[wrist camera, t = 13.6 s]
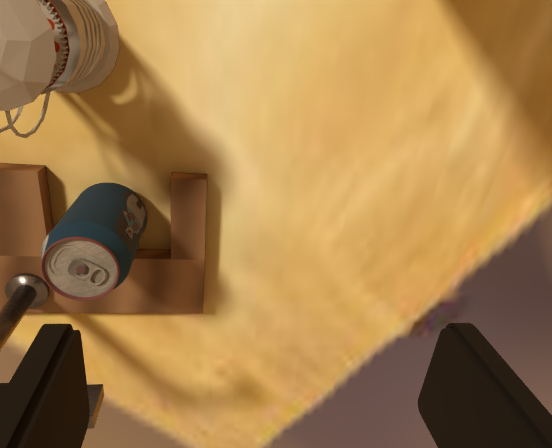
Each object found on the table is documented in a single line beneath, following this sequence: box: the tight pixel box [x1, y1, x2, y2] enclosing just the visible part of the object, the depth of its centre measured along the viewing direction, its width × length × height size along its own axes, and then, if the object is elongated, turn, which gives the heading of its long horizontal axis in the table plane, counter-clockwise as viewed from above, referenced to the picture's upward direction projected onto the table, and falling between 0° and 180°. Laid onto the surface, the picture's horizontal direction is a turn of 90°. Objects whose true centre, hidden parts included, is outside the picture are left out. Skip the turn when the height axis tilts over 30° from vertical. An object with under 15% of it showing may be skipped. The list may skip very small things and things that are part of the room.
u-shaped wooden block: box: [0, 163, 207, 313], centre depth 44 cm, size 22×16×2 cm
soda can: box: [41, 183, 147, 301], centre depth 38 cm, size 7×7×12 cm
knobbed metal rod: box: [0, 273, 104, 428], centre depth 36 cm, size 13×4×18 cm, turn 85°
